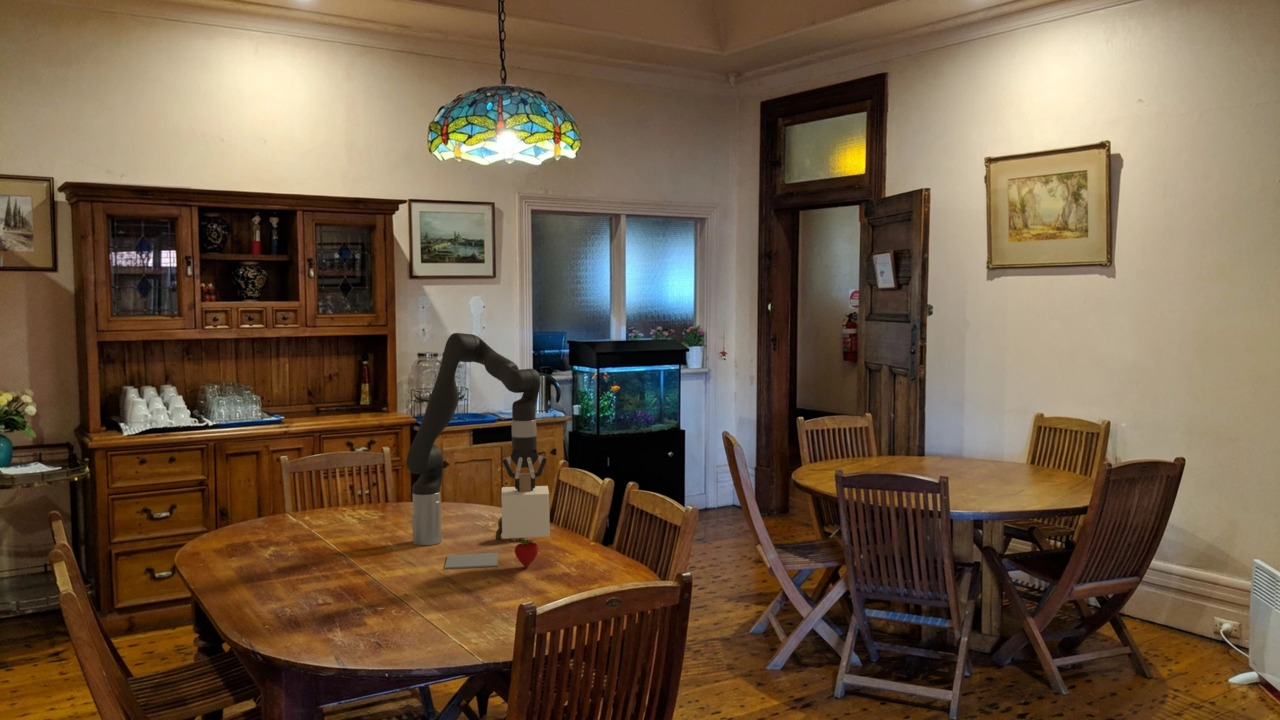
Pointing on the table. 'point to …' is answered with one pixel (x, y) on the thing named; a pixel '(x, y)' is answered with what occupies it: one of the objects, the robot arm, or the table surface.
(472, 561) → the mat
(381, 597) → the table surface
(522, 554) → the strawberry
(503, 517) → the cover
